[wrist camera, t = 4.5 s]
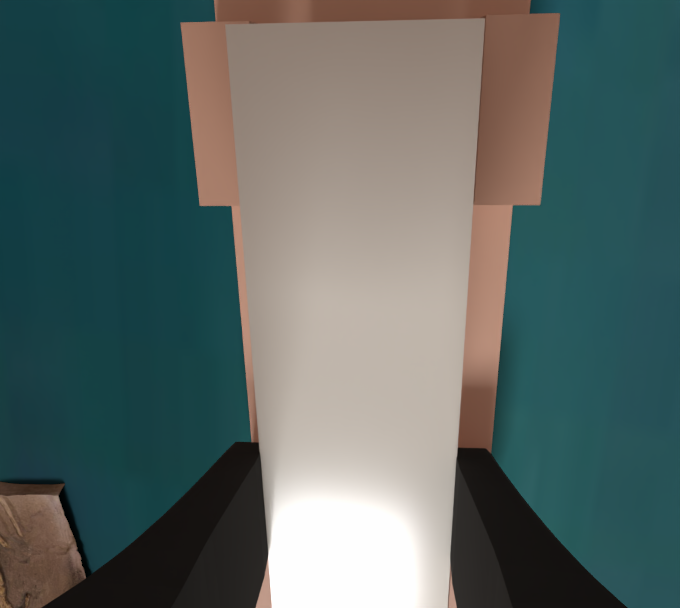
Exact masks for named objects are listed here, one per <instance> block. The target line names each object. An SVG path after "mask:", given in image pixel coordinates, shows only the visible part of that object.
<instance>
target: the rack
mask: <svg viewBox="0 0 680 608" xmlns="http://www.w3.org/2000/svg"><path fill="white" fill-rule="evenodd" d="M530 1H531V0H214V4H215V16H216V22H186V23H181V30H182V40H183V49H184V59H185V68H186V78H187V88H188V97H189V107H190V116H191V126H192V135H193V145H194V155H195V164H196V174H197V183H198V193H199V202H200V206H232V216H233V228H234V239H235V251H236V263H237V275H238V286H239V298H240V310H241V322H242V333H243V345H244V357H245V369H246V381H247V392H248V404H249V416H250V428H251V439H252V442H259V439H258V426H257V414H256V401H255V389H254V377H253V364H252V352H251V339H250V327H249V314H248V302H247V290H246V277H245V265H244V252H243V240H242V227H241V215H240V203H239V190H238V178H237V165H236V153H235V141H234V128H233V116H232V103H231V91H230V78H229V66H228V54H227V41H226V29H225V24H261V23H304V22H347V21H389V20H432V19H475V18H485V27H484V43H483V58H482V74H481V90H480V105H479V121H478V137H477V153H476V168H475V184H474V200H473V216H472V231H471V247H470V263H469V279H468V294H467V310H466V326H465V341H464V357H463V373H462V389H461V404H460V420H459V436H458V448H486V449H487V450H488V451H489V452H490V453H491V447H492V436H493V425H494V413H495V402H496V390H497V379H498V367H499V356H500V344H501V333H502V321H503V310H504V299H505V287H506V276H507V264H508V253H509V241H510V230H511V218H512V207H513V205H540V202H541V192H542V183H543V173H544V163H545V154H546V144H547V135H548V125H549V115H550V106H551V96H552V87H553V77H554V67H555V58H556V48H557V39H558V29H559V19H560V13H547V14H529V12H530ZM256 608H272V600H271V588H270V575H269V563H268V560H267V565H266V571H265V577H264V580H263V584H262V587H261V591H260V594H259V598H258V601H257V604H256ZM448 608H457V606H456V600H455V595H454V590H453V585H452V575H451V564H450V578H449V593H448Z"/></svg>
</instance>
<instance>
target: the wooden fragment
mask: <svg viewBox="0 0 680 608" xmlns="http://www.w3.org/2000/svg"><path fill="white" fill-rule="evenodd" d="M64 485H65V484H54V485H44V484H39V485H36V484H12V483H4V482H0V608H42V607H43V606H45V605H46V604H48V603H49V602H51V601H52V600H54V599H55V598H57V597H58V596H60V595H61V594H63V593H65V592H66V591H68V590H69V589H71V588H72V587H74V586H75V585H77V584H78V583H80V582H81V581H83V580H84V579H86V576H85V572H84V568H83V566H82V565H81V564H82V562H81V556H80V554H79V553H78V552H77V551H76V550H77V546H76V542H75V539H74V536H73V534H72V531H71V529H70V527H69V523H68V521H67V519H66V517H65V516H64V511H63V509H62V505H61V503H60V500H59V496H58V495H59V493H60V491H61V490H62V488H63V486H64Z"/></svg>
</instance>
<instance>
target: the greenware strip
mask: <svg viewBox="0 0 680 608" xmlns="http://www.w3.org/2000/svg"><path fill="white" fill-rule="evenodd" d="M484 27H485V18H475V19H432V20H389V21H347V22H304V23H261V24H225V29H226V41H227V54H228V66H229V78H230V91H231V103H232V116H233V128H234V141H235V153H236V165H237V178H238V190H239V203H240V215H241V227H242V240H243V252H244V265H245V277H246V290H247V302H248V314H249V327H250V339H251V352H252V364H253V377H254V389H255V401H256V414H257V426H258V439H259V451H260V457H261V469H262V482H263V494H264V506H265V519H266V531H267V544H268V563H269V575H270V588H271V600H272V608H448V593H449V578H450V551H451V535H452V520H453V504H454V488H455V472H456V457H457V452H458V436H459V420H460V404H461V389H462V373H463V357H464V341H465V326H466V310H467V294H468V279H469V263H470V247H471V231H472V216H473V200H474V184H475V168H476V153H477V137H478V121H479V105H480V90H481V74H482V58H483V43H484Z"/></svg>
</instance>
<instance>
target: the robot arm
mask: <svg viewBox="0 0 680 608" xmlns="http://www.w3.org/2000/svg"><path fill="white" fill-rule="evenodd" d="M267 560H268V544H267V531H266V519H265V506H264V494H263V482H262V469H261V457H260V451H259V442H235V443H234V444H233V445H232V446H231V447H230V448H229V449H228V450H227V451H226V452H225V453H224V454H223V455H222V456H221V457H220V458H219V459H218V460H217V462H216V463H215V464H214V465H213V466H212V467H211V468H210V469H209V470H208V471H207V472H206V473H205V474H204V475H203V476H202V477H201V478H200V479H199V480H198V482H197V483H196V484H195V485H194V486H193V487H192V488H191V489H190V490H189V491H188V492H187V493H186V494H185V495H184V496H183V497H181V498H180V499H179V500H178V501H177V502H176V503H175V504H174V505H173V506H172V507H171V508H170V509H169V510H168V511H167V512H166V513H165V514H164V515H163V516H162V517H161V518H160V519H158V520H157V521H156V522H155V523H154V524H153V525H152V526H151V527H149V528H148V529H147V530H146V531H145V532H144V533H143V534H142V535H141V536H139V537H138V538H137V539H136V540H135V541H134V542H133V543H131V544H130V545H129V546H128V547H127V548H125V549H124V550H123V551H122V552H120V553H119V554H118V555H117V556H115V557H114V558H113V559H111V560H110V561H109V562H107V563H106V564H105V565H103V566H102V567H101V568H99V569H98V570H97V571H95V572H94V573H93V574H91V575H90V576H88V577H87V578H86V579H84V580H83V581H81V582H80V583H78V584H77V585H75V586H74V587H72V588H71V589H69V590H68V591H66V592H65V593H63V594H61V595H60V596H58V597H57V598H55V599H54V600H52V601H51V602H49V603H48V604H46V605H45V606H43V607H42V608H256V604H257V601H258V598H259V594H260V591H261V587H262V584H263V580H264V577H265V571H266V565H267ZM450 564H451V575H452V585H453V590H454V595H455V600H456V606H457V608H627V607H626V606H625V605H624V604H623V603H621V602H620V601H619V600H618V599H617V598H616V597H615V596H614V595H613V594H612V593H610V592H609V591H608V590H607V589H606V588H605V587H604V586H603V585H602V584H601V583H600V582H598V581H597V580H596V579H595V578H594V577H593V576H592V575H591V574H590V573H589V572H588V571H587V570H586V569H585V568H584V567H583V566H582V565H581V564H580V563H579V562H578V561H577V560H576V558H575V557H574V556H573V555H572V554H571V553H570V552H569V551H568V550H567V549H566V548H565V547H564V546H563V545H562V544H561V542H560V541H559V540H558V539H557V538H556V537H555V536H554V535H553V533H552V532H551V531H550V530H549V529H548V528H547V526H546V525H545V524H544V523H543V522H542V520H541V519H540V518H539V517H538V516H537V514H536V513H535V512H534V511H533V510H532V508H531V507H530V506H529V505H528V504H527V502H526V501H525V500H524V499H523V497H522V496H521V495H520V493H519V492H518V491H517V489H516V488H515V487H514V485H513V484H512V483H511V481H510V480H509V479H508V477H507V476H506V475H505V473H504V472H503V470H502V469H501V468H500V466H499V465H498V463H497V462H496V460H495V459H494V457H493V456H492V455H491V453H490V452H489V451H488V450H487V449H486V448H458V452H457V457H456V472H455V488H454V504H453V520H452V535H451V551H450Z"/></svg>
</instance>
